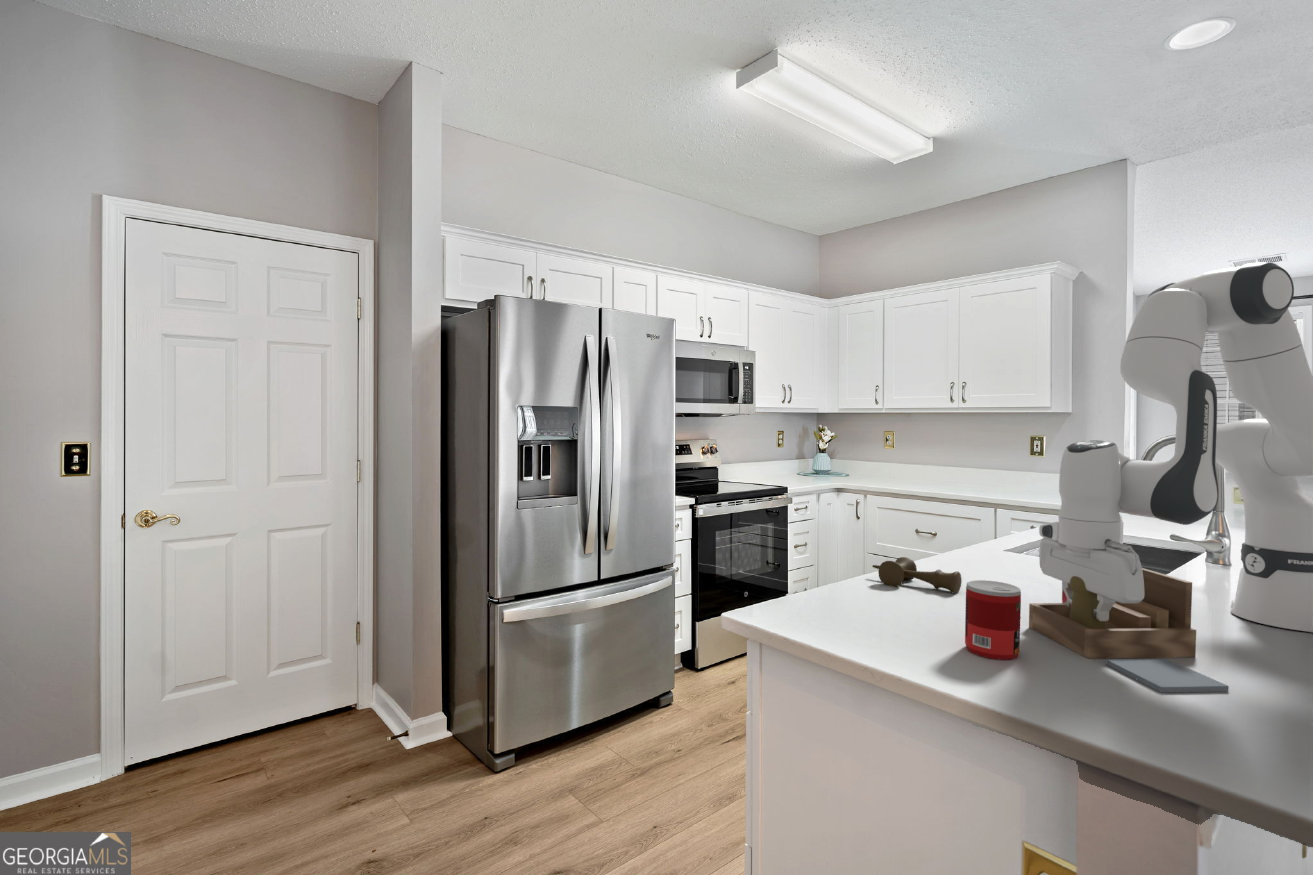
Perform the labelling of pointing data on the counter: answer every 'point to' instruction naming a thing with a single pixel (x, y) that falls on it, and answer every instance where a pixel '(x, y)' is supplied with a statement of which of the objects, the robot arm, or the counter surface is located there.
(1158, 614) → the tall offcut
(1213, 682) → the mat
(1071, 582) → the olive tapered shaker
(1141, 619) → the short offcut
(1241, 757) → the counter surface
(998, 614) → the canned food
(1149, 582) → the rack
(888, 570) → the kendama
